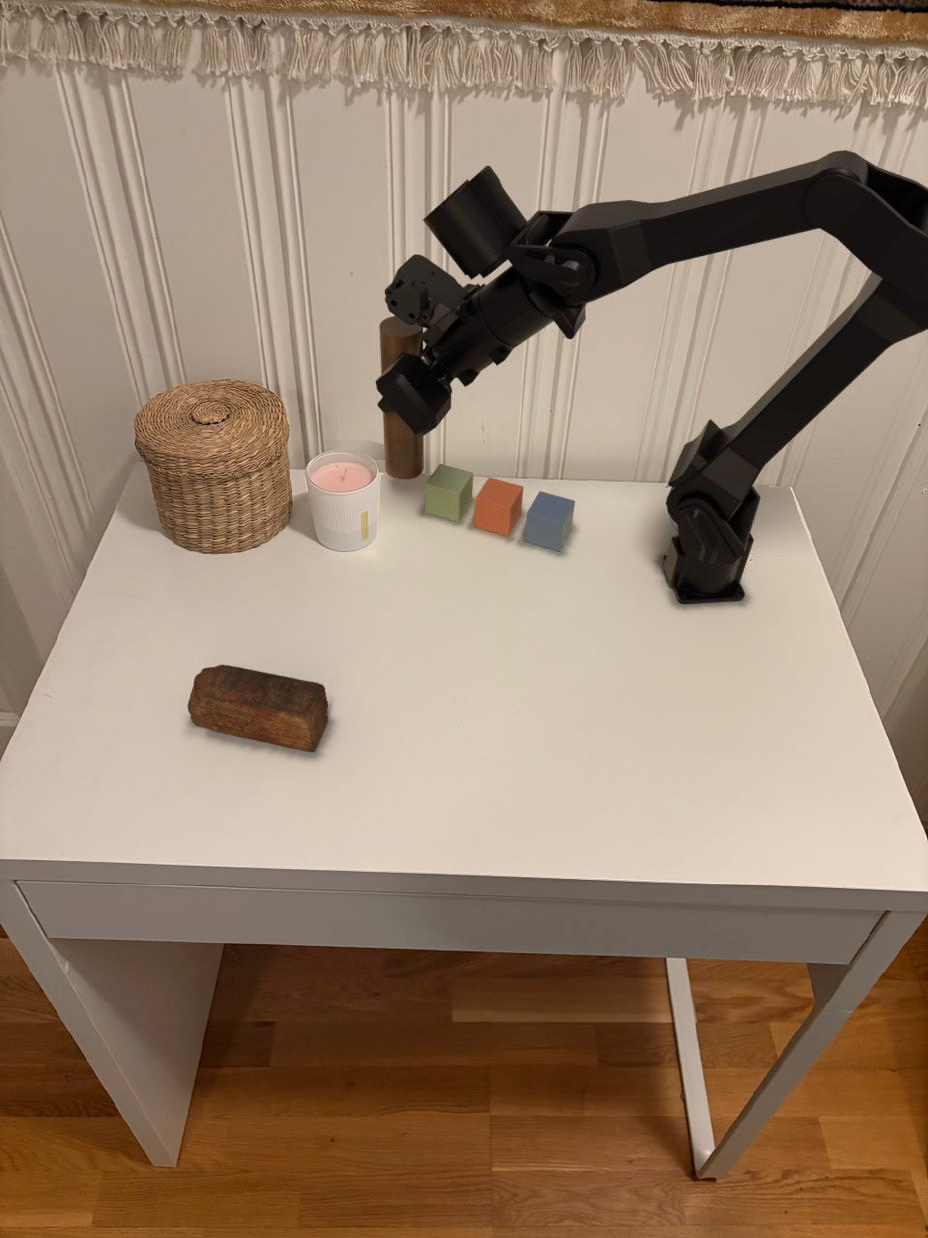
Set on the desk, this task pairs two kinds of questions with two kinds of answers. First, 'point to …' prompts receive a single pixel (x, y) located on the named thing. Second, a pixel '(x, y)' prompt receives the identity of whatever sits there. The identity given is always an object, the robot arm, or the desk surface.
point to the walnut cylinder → (398, 438)
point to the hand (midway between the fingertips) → (390, 396)
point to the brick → (259, 706)
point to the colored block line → (499, 506)
